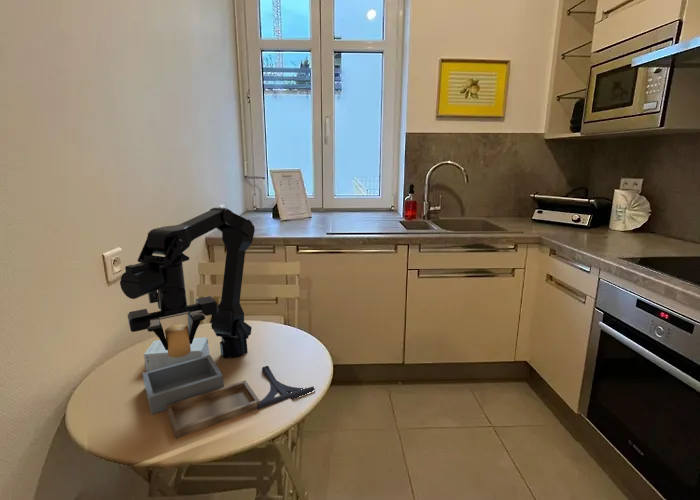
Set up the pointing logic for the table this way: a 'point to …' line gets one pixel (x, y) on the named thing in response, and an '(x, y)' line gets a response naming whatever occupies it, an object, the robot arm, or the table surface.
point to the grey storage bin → (181, 382)
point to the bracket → (280, 390)
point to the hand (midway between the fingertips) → (178, 346)
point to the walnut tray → (211, 408)
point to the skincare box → (159, 357)
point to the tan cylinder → (177, 340)
